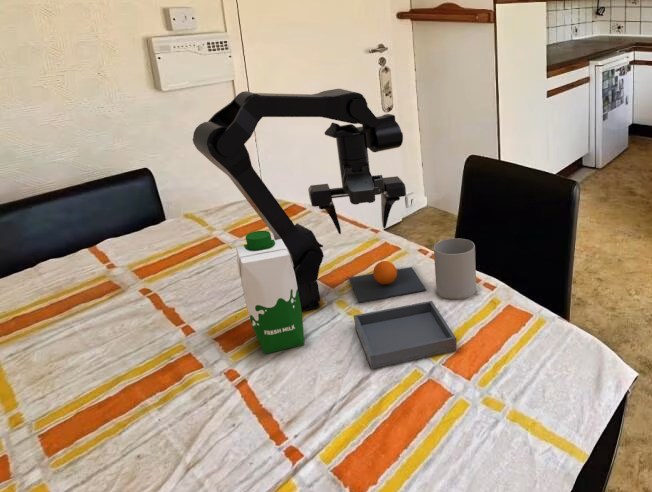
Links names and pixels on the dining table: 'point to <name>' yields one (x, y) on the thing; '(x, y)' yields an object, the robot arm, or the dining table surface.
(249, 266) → the milk carton
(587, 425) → the dining table surface
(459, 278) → the cup
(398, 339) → the shallow grey tray
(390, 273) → the ball
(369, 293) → the mat
